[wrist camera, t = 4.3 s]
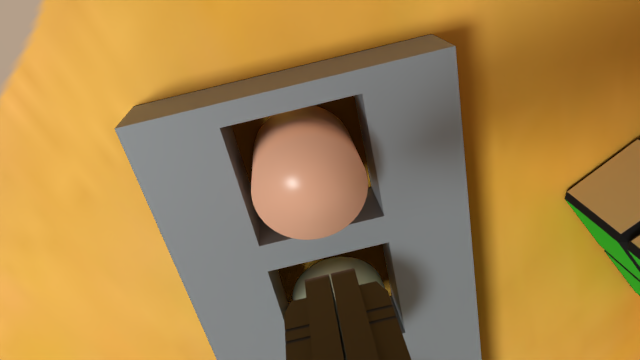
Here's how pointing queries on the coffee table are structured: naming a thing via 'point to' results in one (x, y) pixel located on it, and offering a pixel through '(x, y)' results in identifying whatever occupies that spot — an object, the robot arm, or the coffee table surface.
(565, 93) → the coffee table surface
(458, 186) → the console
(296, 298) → the button sage
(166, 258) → the coffee table surface
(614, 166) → the puzzle cube
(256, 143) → the button terracotta
